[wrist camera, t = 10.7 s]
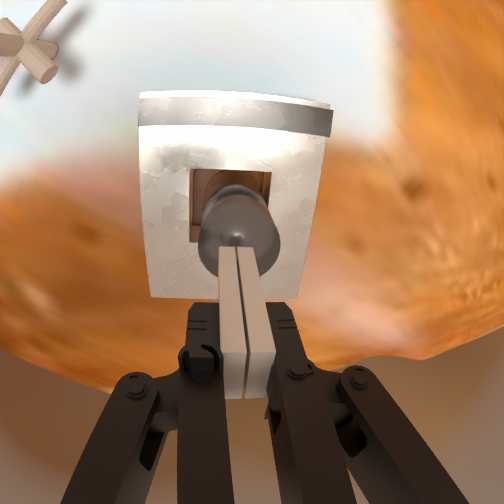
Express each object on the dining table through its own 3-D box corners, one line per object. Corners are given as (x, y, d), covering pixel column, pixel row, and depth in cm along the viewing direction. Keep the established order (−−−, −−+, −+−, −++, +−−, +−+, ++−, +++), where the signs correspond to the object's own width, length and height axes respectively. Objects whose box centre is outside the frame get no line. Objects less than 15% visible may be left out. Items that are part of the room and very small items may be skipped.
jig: (157, 276, 28) (147, 310, 24) (151, 94, 20) (132, 91, 15) (288, 278, 30) (301, 312, 25) (315, 103, 21) (340, 104, 17)
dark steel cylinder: (204, 218, 26) (198, 281, 17) (206, 167, 23) (198, 207, 15) (256, 220, 26) (275, 282, 18) (261, 170, 24) (285, 210, 15)
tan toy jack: (115, 35, 16) (59, 6, 7) (47, 119, 19) (-22, 137, 10) (61, -7, 12) (5, -33, 3) (3, 70, 14) (-62, 76, 6)
